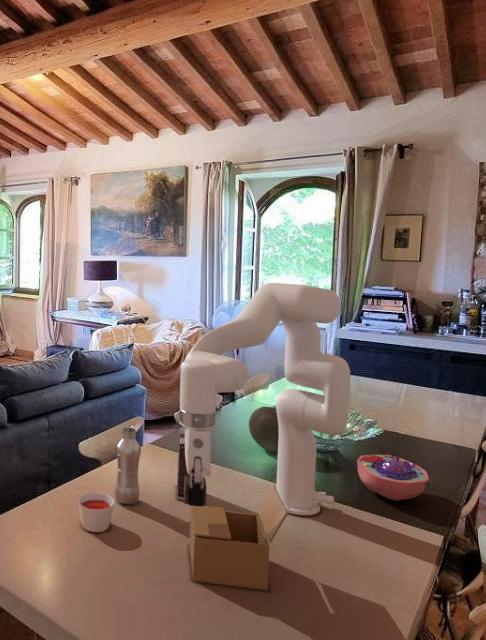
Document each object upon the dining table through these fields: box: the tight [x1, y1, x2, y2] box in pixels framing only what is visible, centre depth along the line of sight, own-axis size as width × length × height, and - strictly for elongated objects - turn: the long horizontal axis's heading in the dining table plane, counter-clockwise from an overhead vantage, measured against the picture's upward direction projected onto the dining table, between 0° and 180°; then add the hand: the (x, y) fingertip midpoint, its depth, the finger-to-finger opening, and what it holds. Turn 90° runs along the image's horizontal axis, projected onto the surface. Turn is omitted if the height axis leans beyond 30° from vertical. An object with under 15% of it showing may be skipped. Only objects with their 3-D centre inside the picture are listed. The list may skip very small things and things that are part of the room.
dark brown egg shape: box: [248, 406, 279, 453], centre depth 180 cm, size 14×14×15 cm
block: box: [184, 475, 208, 506], centre depth 114 cm, size 4×4×4 cm
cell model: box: [356, 453, 430, 502], centre depth 149 cm, size 17×20×11 cm
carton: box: [189, 505, 270, 591], centre depth 114 cm, size 15×13×10 cm
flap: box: [257, 484, 289, 544], centre depth 112 cm, size 7×13×1 cm
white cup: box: [77, 491, 115, 533], centre depth 130 cm, size 9×9×6 cm
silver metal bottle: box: [114, 427, 142, 505], centre depth 142 cm, size 6×7×20 cm
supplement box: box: [176, 433, 190, 501], centre depth 147 cm, size 9×5×16 cm, turn 168°
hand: (195, 498), depth 114 cm, fingers closed on block, 4 cm apart
